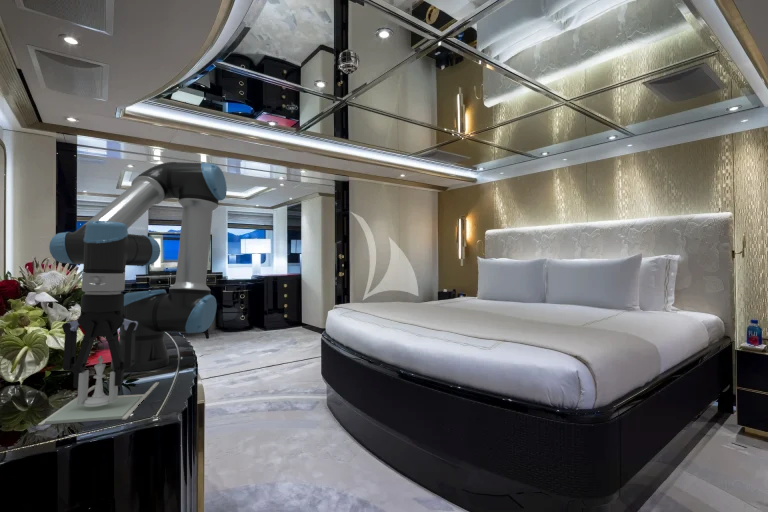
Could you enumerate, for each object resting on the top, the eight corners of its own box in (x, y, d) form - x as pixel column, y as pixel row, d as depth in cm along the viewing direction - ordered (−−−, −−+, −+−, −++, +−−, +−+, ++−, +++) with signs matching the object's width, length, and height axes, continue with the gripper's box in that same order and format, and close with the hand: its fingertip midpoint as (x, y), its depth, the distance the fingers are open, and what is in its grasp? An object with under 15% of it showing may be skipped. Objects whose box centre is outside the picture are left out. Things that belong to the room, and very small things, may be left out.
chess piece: (89, 408, 80) (92, 359, 80) (79, 403, 82) (82, 356, 82) (116, 402, 84) (118, 355, 84) (105, 397, 86) (108, 352, 87)
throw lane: (93, 386, 98) (93, 384, 98) (159, 383, 103) (159, 381, 103) (37, 425, 74) (38, 422, 74) (126, 419, 79) (126, 416, 79)
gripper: (43, 293, 77) (36, 411, 77) (145, 294, 83) (140, 404, 82) (62, 291, 85) (56, 398, 84) (155, 292, 90) (150, 393, 89)
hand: (97, 401), depth 83 cm, fingers closed on chess piece, 5 cm apart
